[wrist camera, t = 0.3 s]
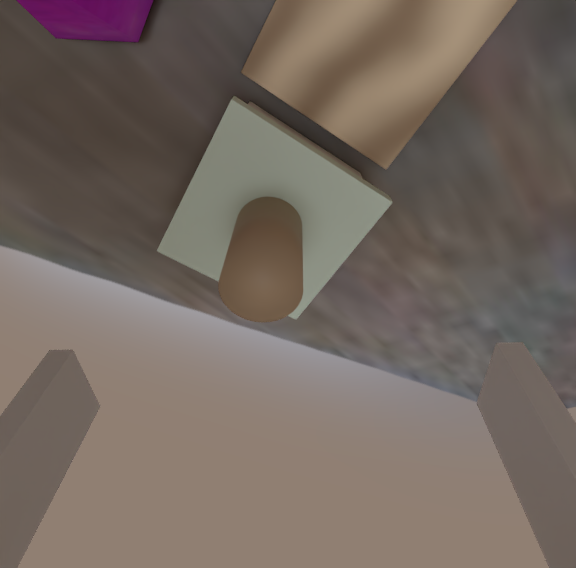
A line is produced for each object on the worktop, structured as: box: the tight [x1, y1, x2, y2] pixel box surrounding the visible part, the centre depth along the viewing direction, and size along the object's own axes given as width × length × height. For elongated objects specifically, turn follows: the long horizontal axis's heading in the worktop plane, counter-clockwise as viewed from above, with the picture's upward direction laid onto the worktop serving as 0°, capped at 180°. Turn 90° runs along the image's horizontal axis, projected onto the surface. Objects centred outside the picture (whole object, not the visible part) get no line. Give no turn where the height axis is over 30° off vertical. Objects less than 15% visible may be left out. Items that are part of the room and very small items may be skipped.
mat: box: [241, 0, 517, 169], centre depth 29 cm, size 14×14×1 cm
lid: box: [157, 96, 393, 322], centre depth 27 cm, size 13×13×9 cm
